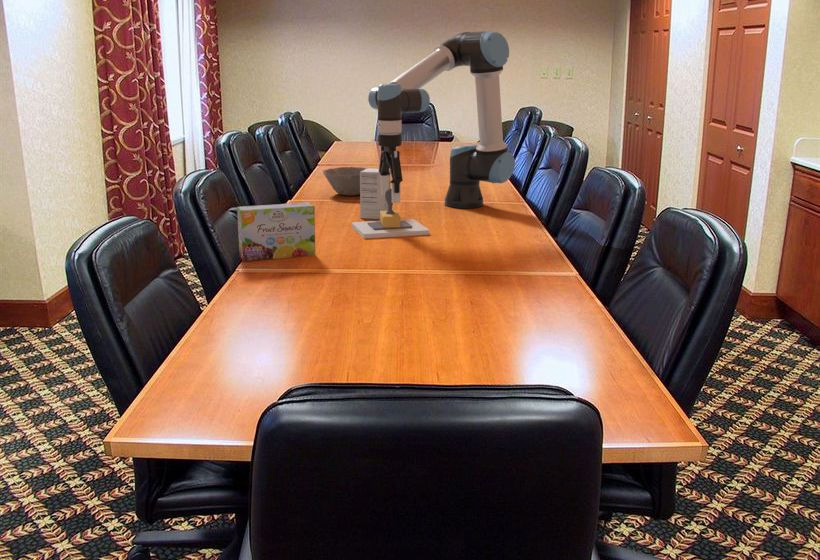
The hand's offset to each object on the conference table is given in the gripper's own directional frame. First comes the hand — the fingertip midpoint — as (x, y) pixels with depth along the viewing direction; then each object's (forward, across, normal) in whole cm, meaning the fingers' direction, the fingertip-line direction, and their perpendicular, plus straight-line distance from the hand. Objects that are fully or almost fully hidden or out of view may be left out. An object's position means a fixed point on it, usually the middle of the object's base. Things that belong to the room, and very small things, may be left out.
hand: (390, 198), depth 247 cm
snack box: (+10, +24, -40) cm, 48 cm away
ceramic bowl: (+11, -69, +2) cm, 70 cm away
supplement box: (+11, -23, 0) cm, 25 cm away
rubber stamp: (+9, 0, 0) cm, 9 cm away
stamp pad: (+11, 0, 0) cm, 11 cm away
